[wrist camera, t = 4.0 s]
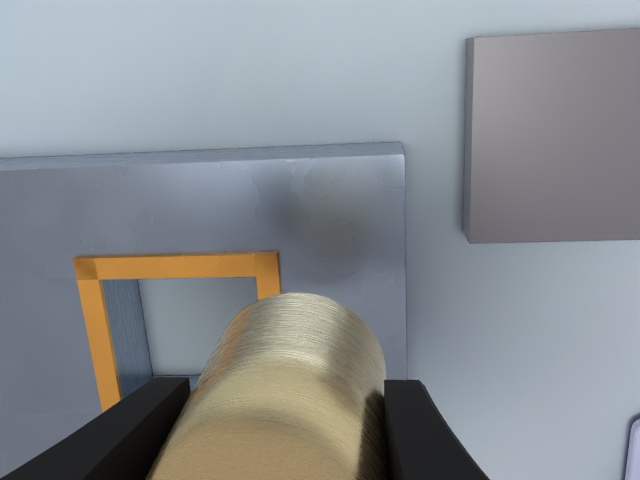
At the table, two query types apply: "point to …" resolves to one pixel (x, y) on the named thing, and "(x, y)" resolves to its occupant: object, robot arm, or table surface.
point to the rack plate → (178, 261)
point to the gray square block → (552, 137)
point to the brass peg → (284, 399)
